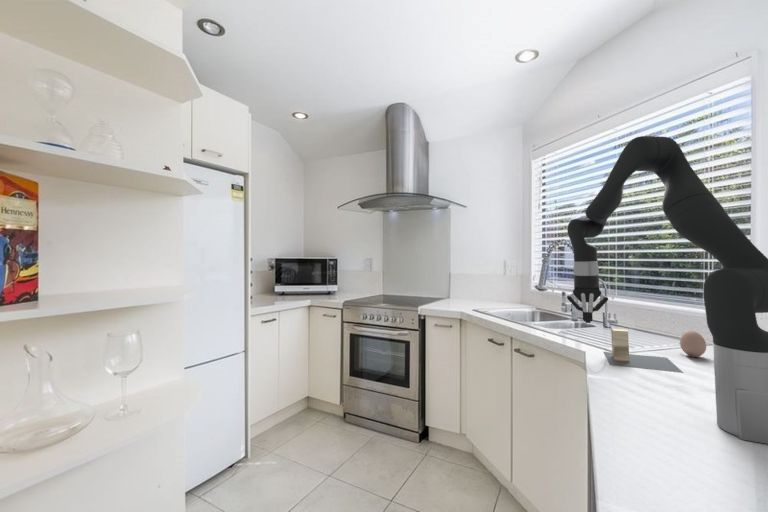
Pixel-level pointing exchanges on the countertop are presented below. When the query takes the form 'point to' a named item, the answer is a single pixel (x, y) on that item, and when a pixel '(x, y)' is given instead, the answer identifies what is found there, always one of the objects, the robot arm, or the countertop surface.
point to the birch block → (620, 344)
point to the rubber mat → (645, 362)
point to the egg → (693, 343)
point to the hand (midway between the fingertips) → (587, 322)
